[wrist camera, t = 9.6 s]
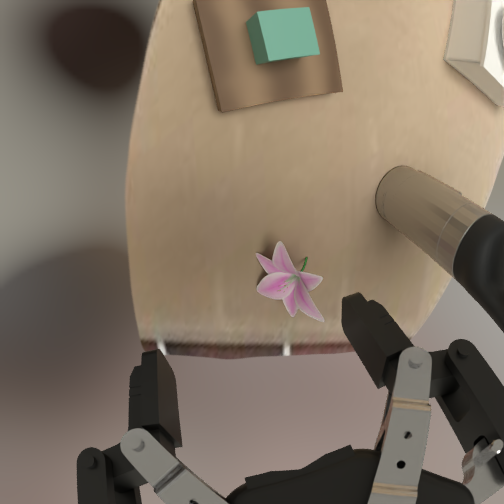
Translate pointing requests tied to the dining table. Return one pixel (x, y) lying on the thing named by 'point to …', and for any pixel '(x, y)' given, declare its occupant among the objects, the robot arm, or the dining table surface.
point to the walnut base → (266, 74)
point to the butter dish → (478, 45)
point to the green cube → (282, 34)
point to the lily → (288, 283)
